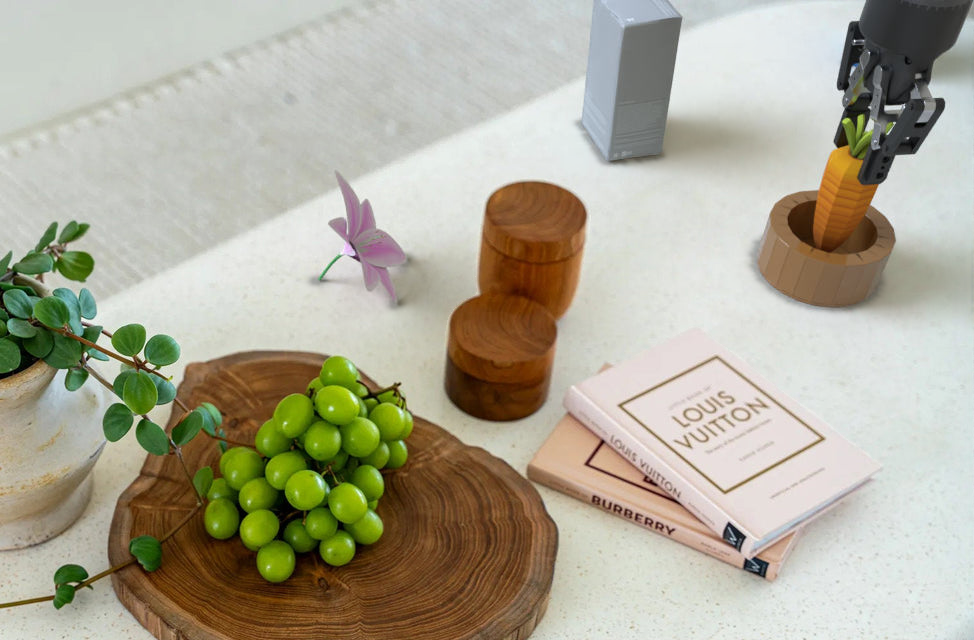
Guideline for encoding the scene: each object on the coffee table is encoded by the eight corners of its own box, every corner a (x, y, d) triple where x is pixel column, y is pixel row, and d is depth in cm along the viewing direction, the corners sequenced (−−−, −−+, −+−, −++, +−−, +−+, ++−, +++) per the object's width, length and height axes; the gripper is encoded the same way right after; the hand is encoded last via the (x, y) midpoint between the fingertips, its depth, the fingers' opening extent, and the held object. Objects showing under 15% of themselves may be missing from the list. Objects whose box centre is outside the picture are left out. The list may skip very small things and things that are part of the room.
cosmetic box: (662, 156, 122) (693, 18, 111) (598, 164, 121) (624, 25, 110) (632, 113, 128) (660, -23, 116) (572, 120, 127) (593, -16, 115)
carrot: (785, 255, 109) (832, 118, 98) (810, 231, 111) (860, 95, 100) (833, 279, 106) (888, 141, 95) (858, 254, 109) (914, 117, 98)
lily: (351, 351, 103) (407, 275, 97) (253, 266, 104) (303, 186, 98) (404, 306, 113) (457, 234, 107) (314, 229, 113) (362, 154, 108)
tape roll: (871, 239, 113) (888, 198, 109) (883, 314, 105) (902, 272, 102) (755, 224, 114) (768, 183, 111) (758, 297, 107) (772, 256, 103)
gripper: (1017, 23, 84) (932, 211, 97) (933, -64, 94) (866, 116, 106) (918, 28, 84) (846, 216, 96) (844, -61, 93) (787, 120, 106)
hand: (857, 163), depth 101 cm, fingers closed on carrot, 5 cm apart
